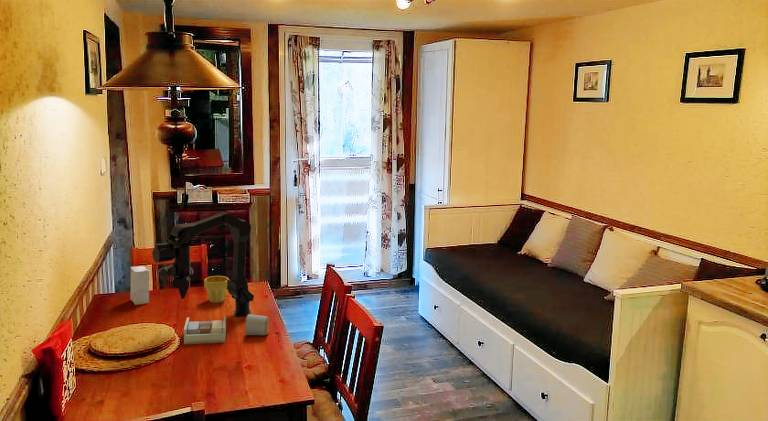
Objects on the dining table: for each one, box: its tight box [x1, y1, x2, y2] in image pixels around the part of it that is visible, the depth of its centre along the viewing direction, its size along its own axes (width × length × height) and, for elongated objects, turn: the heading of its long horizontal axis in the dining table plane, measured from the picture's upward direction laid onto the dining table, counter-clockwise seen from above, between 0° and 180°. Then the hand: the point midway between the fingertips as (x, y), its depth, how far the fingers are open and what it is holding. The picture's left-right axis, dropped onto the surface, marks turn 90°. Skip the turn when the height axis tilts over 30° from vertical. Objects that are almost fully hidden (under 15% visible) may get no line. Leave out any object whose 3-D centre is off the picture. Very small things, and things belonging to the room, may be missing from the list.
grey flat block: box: [188, 321, 201, 335], centre depth 220 cm, size 8×4×2 cm, turn 13°
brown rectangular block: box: [200, 320, 212, 334], centre depth 221 cm, size 8×4×2 cm, turn 13°
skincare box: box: [129, 265, 150, 306], centre depth 257 cm, size 8×6×15 cm
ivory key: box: [212, 319, 223, 333], centre depth 222 cm, size 8×4×2 cm, turn 13°
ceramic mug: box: [244, 314, 270, 336], centre depth 227 cm, size 11×8×8 cm
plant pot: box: [203, 275, 230, 304], centre depth 262 cm, size 10×10×10 cm
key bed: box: [183, 315, 227, 345], centre depth 221 cm, size 13×14×6 cm
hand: (182, 298), depth 227 cm, fingers closed
